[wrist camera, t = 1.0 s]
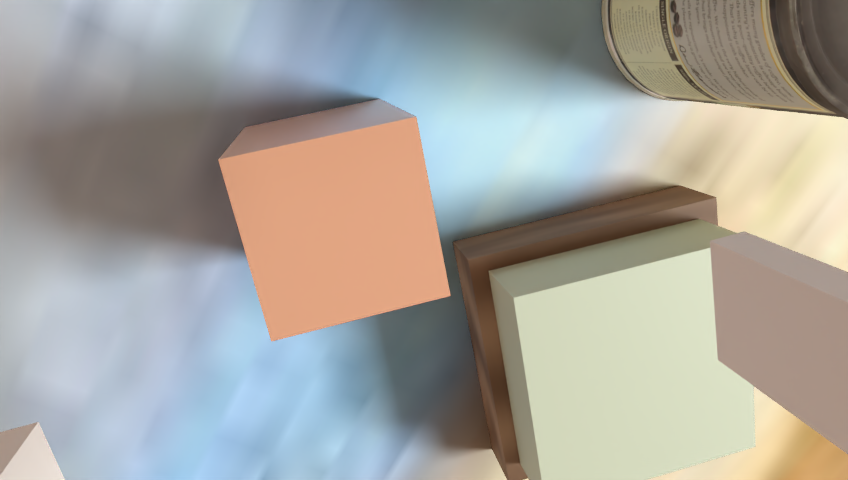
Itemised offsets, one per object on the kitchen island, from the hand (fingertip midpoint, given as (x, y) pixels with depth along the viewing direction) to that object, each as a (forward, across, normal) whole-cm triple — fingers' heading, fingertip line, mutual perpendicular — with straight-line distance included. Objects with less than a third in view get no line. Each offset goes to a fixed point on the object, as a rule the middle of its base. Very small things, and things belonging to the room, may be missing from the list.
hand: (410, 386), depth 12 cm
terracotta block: (+23, -1, 0) cm, 23 cm away
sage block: (+19, +12, -12) cm, 26 cm away
